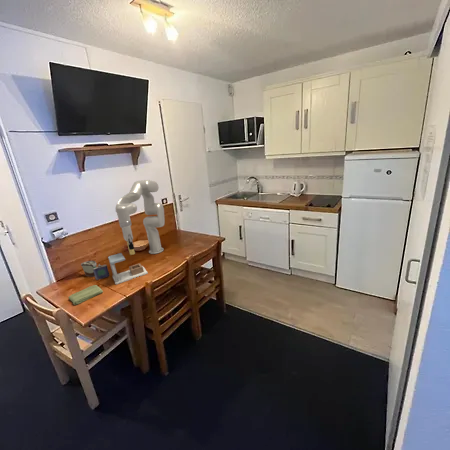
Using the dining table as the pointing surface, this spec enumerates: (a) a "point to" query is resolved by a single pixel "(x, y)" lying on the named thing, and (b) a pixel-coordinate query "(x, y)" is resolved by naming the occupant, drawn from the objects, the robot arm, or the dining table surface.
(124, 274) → the socket station
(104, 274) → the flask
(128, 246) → the peg
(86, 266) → the food container
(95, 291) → the washcloth
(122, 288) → the dining table surface
